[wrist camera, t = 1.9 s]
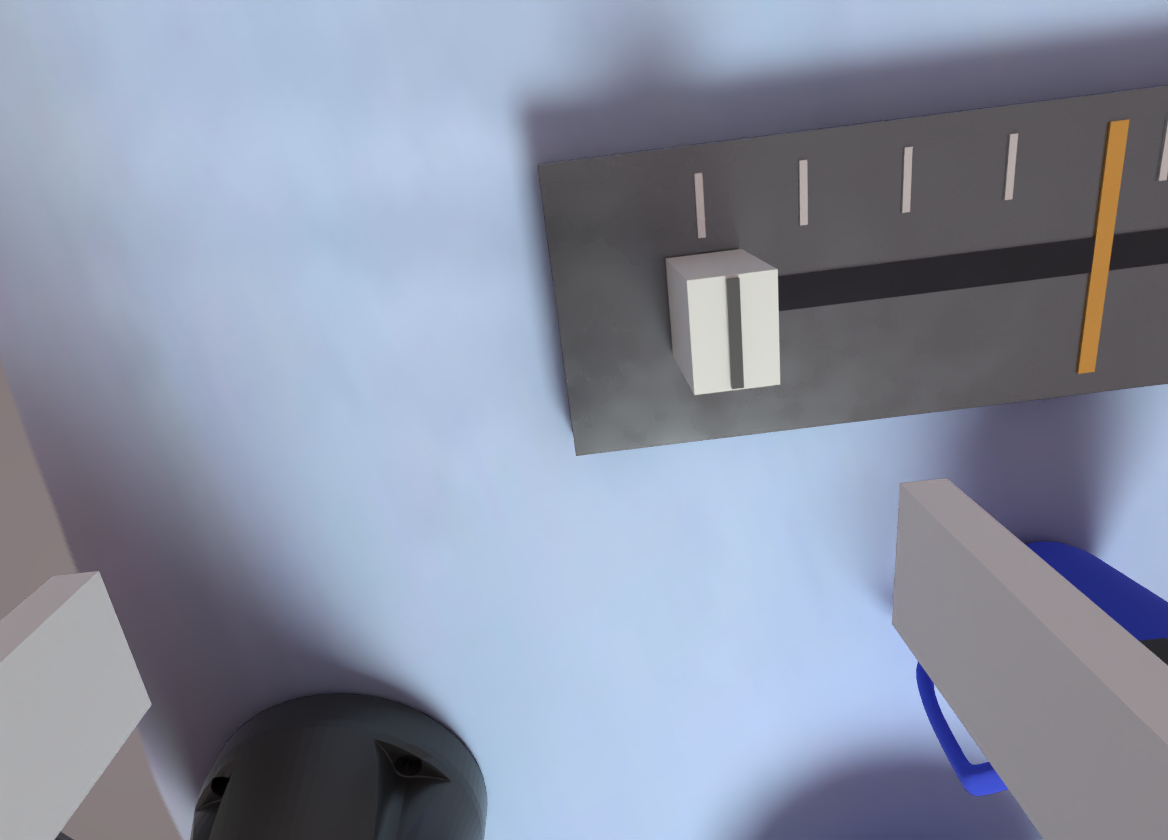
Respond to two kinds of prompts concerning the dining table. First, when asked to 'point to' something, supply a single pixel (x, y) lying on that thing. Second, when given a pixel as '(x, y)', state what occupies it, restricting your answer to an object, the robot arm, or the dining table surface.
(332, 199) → the dining table surface
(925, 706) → the mug
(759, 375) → the block
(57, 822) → the robot arm
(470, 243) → the dining table surface
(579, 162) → the console
